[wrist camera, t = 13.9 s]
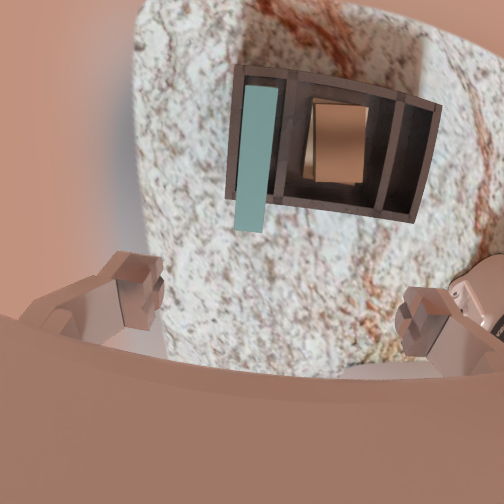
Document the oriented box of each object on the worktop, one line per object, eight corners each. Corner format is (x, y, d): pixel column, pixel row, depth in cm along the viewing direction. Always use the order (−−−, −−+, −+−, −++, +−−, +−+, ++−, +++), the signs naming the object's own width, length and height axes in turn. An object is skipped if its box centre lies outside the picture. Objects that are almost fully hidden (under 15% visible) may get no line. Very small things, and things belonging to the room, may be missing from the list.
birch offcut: (349, 178, 36) (354, 185, 34) (300, 171, 36) (302, 177, 34) (362, 106, 31) (368, 107, 29) (310, 96, 31) (313, 97, 29)
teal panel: (266, 170, 36) (262, 233, 22) (249, 169, 36) (233, 229, 22) (275, 86, 31) (278, 88, 17) (257, 84, 31) (245, 85, 17)
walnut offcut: (356, 175, 33) (362, 182, 31) (312, 174, 34) (315, 181, 31) (359, 104, 29) (365, 106, 27) (312, 102, 30) (315, 104, 27)
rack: (395, 202, 38) (414, 223, 33) (228, 179, 39) (220, 198, 33) (417, 100, 31) (442, 105, 26) (237, 67, 31) (229, 64, 26)
